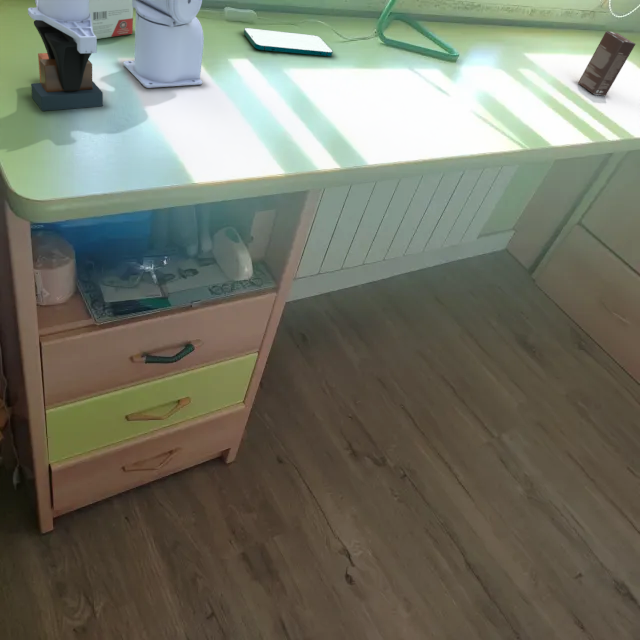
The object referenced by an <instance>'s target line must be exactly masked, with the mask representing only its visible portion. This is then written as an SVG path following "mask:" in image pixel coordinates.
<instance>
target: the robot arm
mask: <svg viewBox="0 0 640 640" xmlns="http://www.w3.org/2000/svg"><path fill="white" fill-rule="evenodd" d="M34 2H35V5H36V6H35V7H28V8H27V15H28V16H29V17H30V18H31V19H32V20H33V26H34V27H35V29H36V30H37V33H38V34H39V36H40V38H41V40H42V42H43V45H44V47H45V50H46V53H47V54H48V57H49V59H55V60H56V64H57V69H58V75H59V80H60V83H61V86H62V89H63V90H64V91H70V90H80V86H81V83H82V79H83V74H84V70H85V67H86V64H87V61H88V60H90V58H91V55H92V54H97V52H98V47H97V46H98V45H97V44H98V39H97V37H96V36H95V35H94V33H93V28H92V19H91V14H90V12H89V0H34ZM202 3H203V0H132V7H133V9H135V27H134V28H135V30H134V58H133V59H134V60H124V61H123V62H122V64H123V66H124V67H125V68H126V69H127V70H128V71H129V72H130V73H131V74H132V75H133V76H134V77H135V78H136V79H137V80H138V81H139V83H140V84H142V86H143V87H144V88H146V89H151V88H152V89H153V88H167V87H168V88H169V87H182V86H197V85H202V84H203V80H202V79H201V73H202V63H203V62H202V61H203V53H204V44H205V42H204V41H205V40H204V39H205V38H204V30H203V26H202V24H201V22H200V20H199V18H198V17H197V15H198V13H199V12H200V10H201V7H202Z"/></svg>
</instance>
